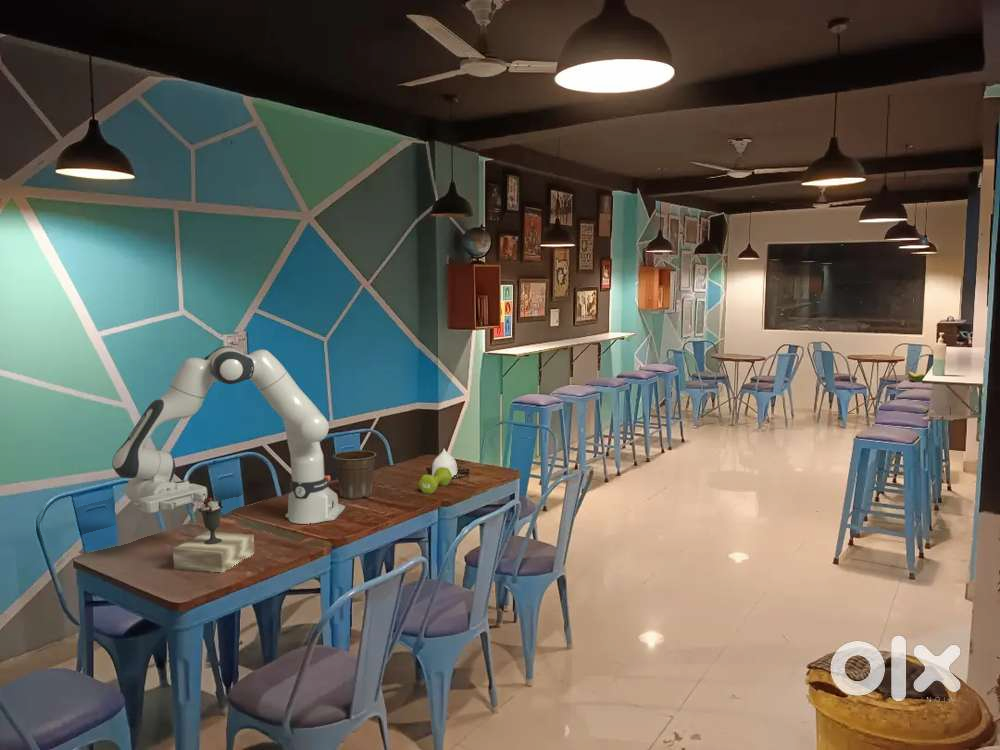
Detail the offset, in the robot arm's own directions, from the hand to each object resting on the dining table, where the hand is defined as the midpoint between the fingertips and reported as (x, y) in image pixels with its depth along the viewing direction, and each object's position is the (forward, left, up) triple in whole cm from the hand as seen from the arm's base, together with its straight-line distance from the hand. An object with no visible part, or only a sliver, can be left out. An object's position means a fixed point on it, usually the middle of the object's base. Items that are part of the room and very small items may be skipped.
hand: (188, 502), depth 227 cm
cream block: (+4, +11, -16) cm, 20 cm away
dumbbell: (-86, +48, -16) cm, 100 cm away
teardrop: (-107, +45, -16) cm, 117 cm away
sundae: (+4, +11, -10) cm, 15 cm away
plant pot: (-71, +21, -16) cm, 76 cm away
